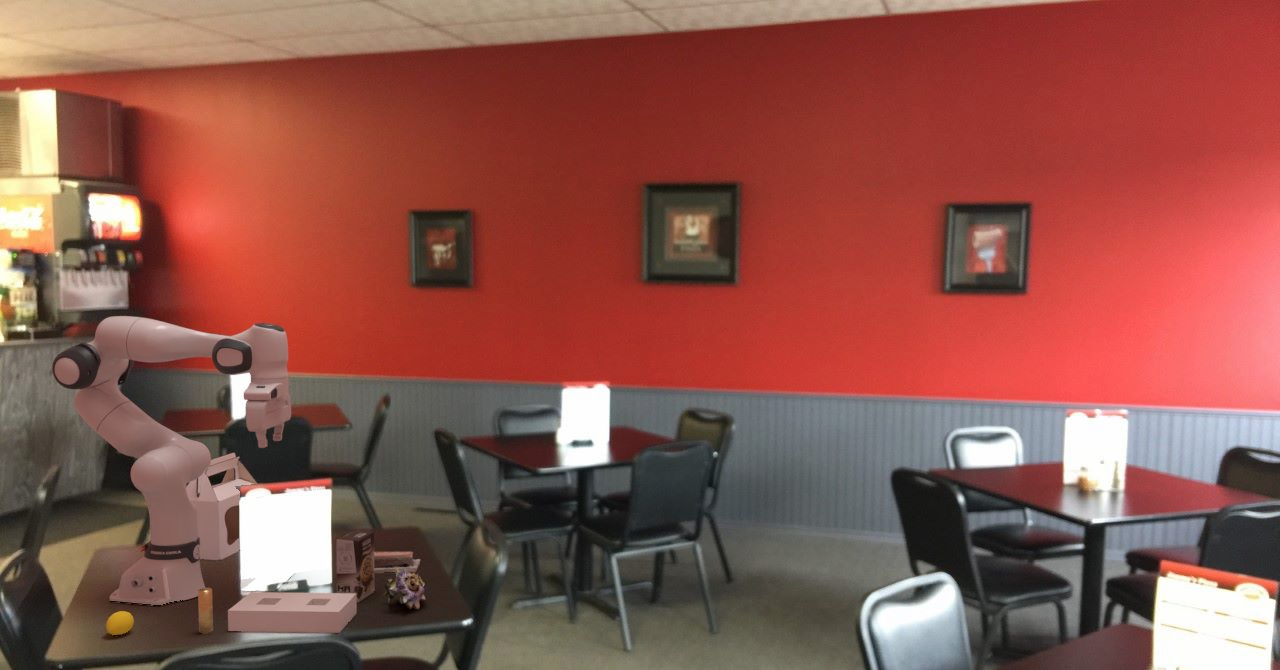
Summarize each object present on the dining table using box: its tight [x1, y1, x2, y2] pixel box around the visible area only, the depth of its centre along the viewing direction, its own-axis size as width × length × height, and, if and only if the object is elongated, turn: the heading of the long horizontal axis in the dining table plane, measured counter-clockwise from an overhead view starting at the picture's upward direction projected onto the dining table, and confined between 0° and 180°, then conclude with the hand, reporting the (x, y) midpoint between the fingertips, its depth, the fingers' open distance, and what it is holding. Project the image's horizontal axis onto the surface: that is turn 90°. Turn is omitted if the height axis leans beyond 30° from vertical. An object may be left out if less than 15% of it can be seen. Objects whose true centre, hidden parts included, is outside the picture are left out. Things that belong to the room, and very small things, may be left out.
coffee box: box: [335, 530, 376, 603], centre depth 253 cm, size 9×6×16 cm
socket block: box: [227, 591, 358, 634], centre depth 235 cm, size 26×13×5 cm, turn 89°
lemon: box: [105, 610, 135, 636], centre depth 227 cm, size 7×5×5 cm
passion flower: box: [382, 568, 426, 610], centre depth 246 cm, size 11×11×12 cm
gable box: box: [186, 452, 259, 561], centre depth 295 cm, size 22×13×28 cm, turn 170°
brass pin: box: [197, 587, 214, 633], centre depth 228 cm, size 3×3×10 cm
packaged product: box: [374, 551, 421, 574], centre depth 278 cm, size 18×5×10 cm
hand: (270, 443), depth 245 cm, fingers open, 8 cm apart
